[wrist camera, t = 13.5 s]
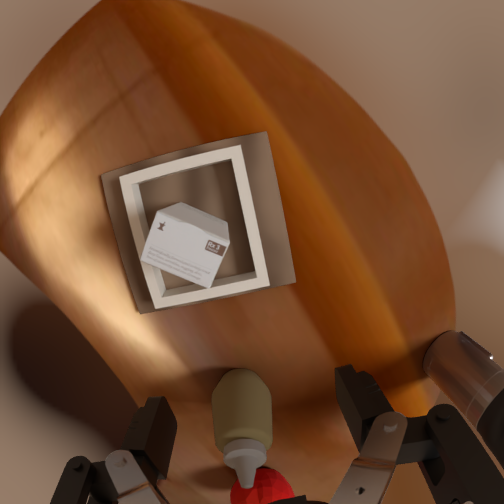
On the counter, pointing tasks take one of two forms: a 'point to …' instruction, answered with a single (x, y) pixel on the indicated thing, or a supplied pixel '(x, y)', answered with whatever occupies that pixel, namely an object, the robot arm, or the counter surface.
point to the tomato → (262, 489)
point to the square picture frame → (141, 231)
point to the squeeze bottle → (242, 422)
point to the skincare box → (187, 243)
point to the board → (214, 203)
